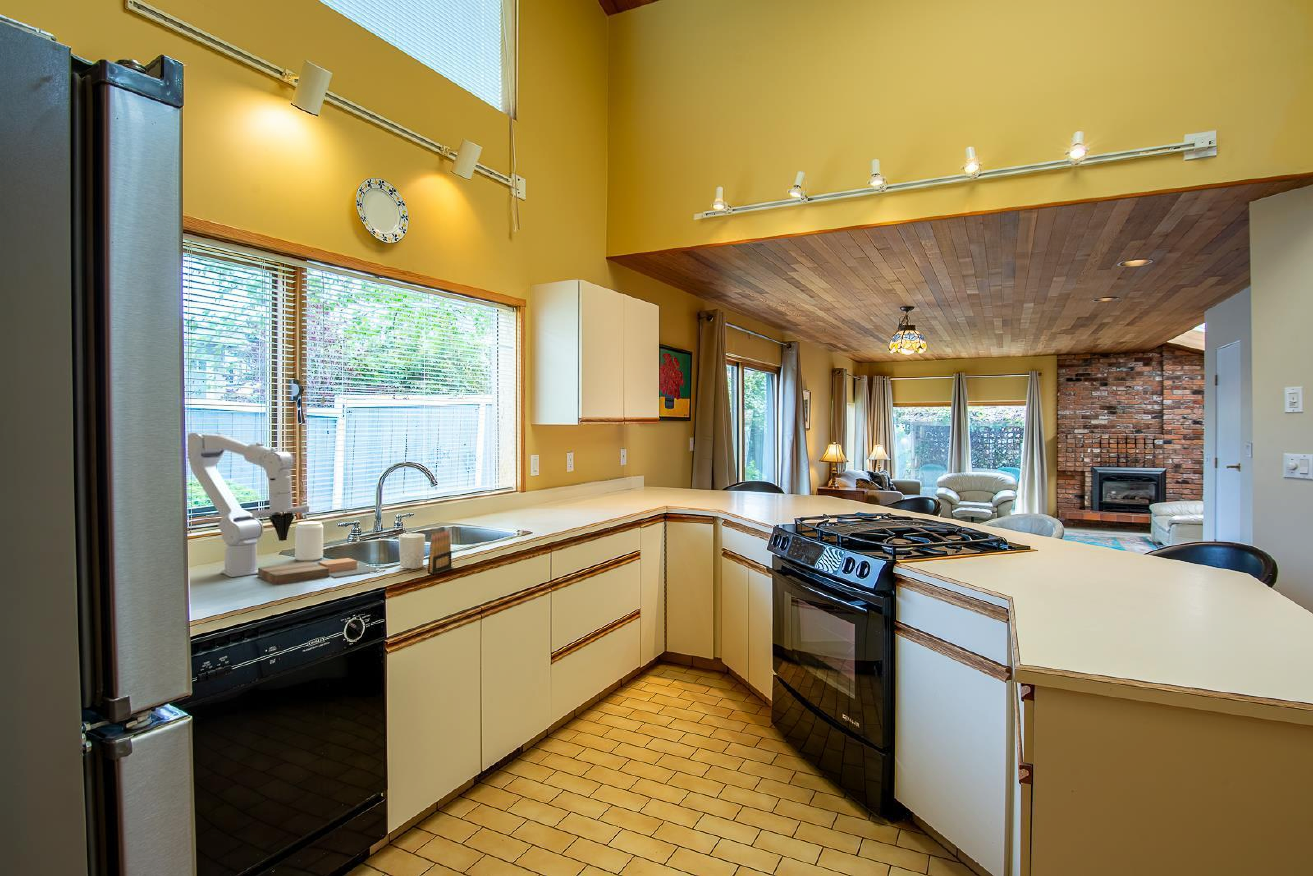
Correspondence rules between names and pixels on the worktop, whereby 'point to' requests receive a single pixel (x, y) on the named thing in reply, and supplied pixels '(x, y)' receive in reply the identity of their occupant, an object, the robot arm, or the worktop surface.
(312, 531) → the beverage can
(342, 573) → the mat
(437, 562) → the ammunition clip
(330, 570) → the tile
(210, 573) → the worktop surface
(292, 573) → the brown wooden flat slab
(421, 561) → the white cup
